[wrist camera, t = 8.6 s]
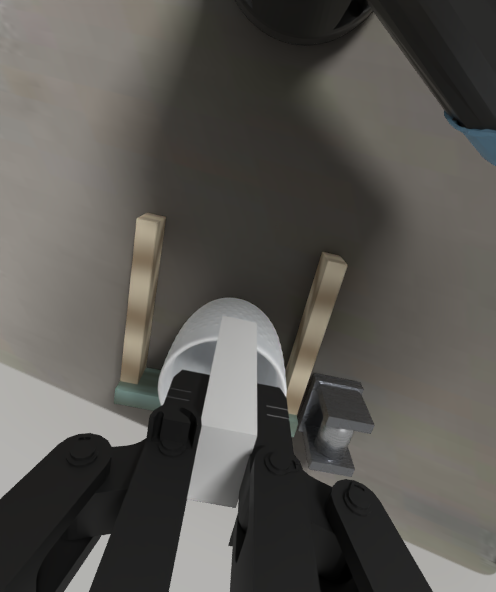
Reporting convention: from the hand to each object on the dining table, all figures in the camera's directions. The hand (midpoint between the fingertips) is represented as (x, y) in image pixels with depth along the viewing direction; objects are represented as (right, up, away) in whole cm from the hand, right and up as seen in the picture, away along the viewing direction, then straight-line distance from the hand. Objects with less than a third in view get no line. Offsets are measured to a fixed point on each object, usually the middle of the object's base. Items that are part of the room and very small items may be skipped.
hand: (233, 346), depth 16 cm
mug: (-2, -2, +27) cm, 27 cm away
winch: (+11, -12, +30) cm, 34 cm away
